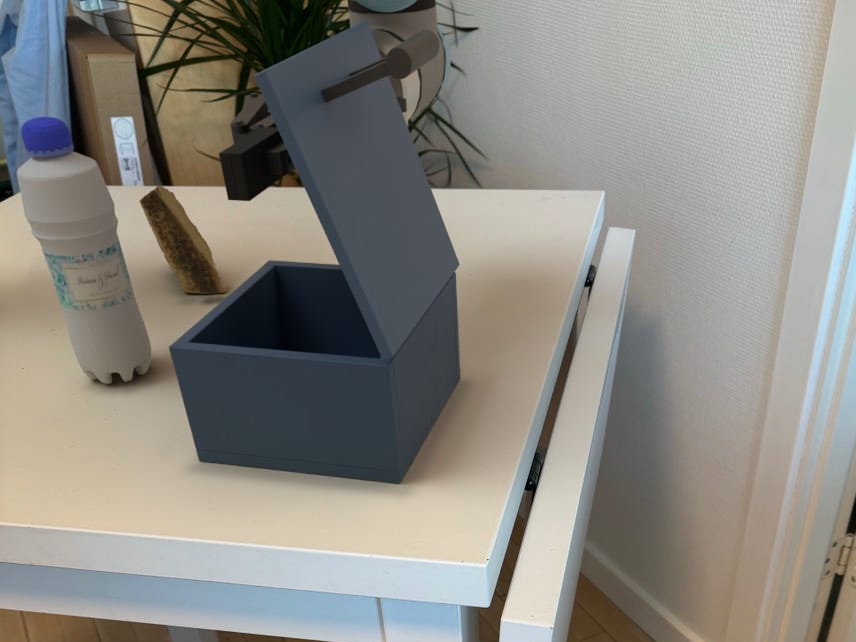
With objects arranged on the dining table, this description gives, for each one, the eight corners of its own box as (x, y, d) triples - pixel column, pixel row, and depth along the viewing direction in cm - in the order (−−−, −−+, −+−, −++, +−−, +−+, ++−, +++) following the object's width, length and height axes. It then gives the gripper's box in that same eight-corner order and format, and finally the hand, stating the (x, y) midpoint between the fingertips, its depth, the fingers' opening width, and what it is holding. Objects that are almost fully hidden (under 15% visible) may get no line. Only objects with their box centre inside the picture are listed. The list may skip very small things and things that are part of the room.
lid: (252, 75, 49) (359, 24, 47) (357, 24, 62) (447, -19, 59) (382, 361, 59) (477, 333, 56) (451, 267, 71) (532, 241, 68)
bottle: (93, 397, 77) (4, 133, 63) (72, 368, 81) (-16, 115, 67) (170, 375, 79) (100, 118, 66) (145, 349, 83) (75, 102, 70)
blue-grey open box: (198, 461, 68) (168, 346, 62) (287, 363, 80) (268, 259, 74) (400, 484, 65) (388, 366, 59) (460, 378, 77) (455, 272, 71)
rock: (140, 241, 99) (110, 260, 91) (173, 169, 95) (145, 183, 87) (229, 300, 102) (208, 324, 94) (265, 234, 99) (246, 253, 90)
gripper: (440, 147, 75) (340, 245, 58) (293, 142, 77) (156, 234, 60) (434, 39, 69) (323, 111, 53) (278, 38, 72) (123, 106, 55)
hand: (234, 177), depth 56 cm, fingers closed
